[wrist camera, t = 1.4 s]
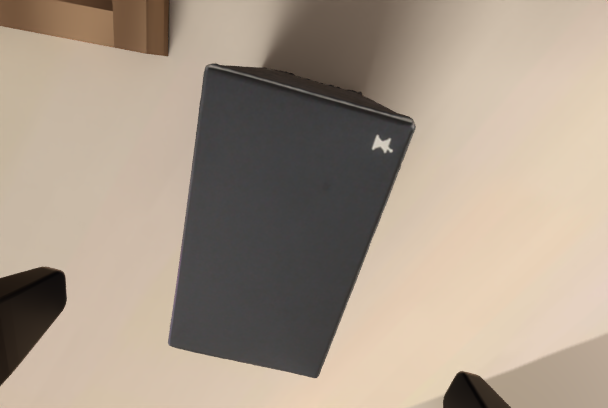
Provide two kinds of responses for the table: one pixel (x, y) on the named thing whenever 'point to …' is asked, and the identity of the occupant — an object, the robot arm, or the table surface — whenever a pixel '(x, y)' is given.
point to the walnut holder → (94, 21)
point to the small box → (280, 214)
